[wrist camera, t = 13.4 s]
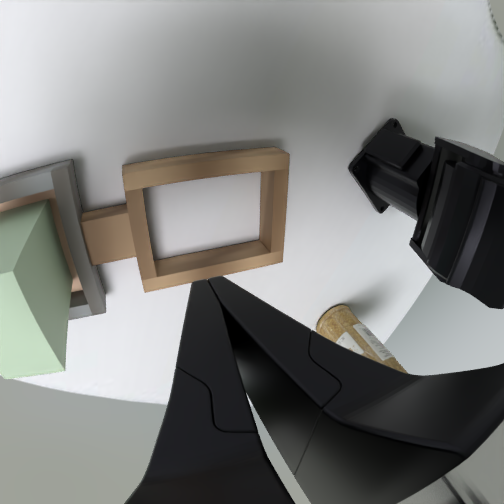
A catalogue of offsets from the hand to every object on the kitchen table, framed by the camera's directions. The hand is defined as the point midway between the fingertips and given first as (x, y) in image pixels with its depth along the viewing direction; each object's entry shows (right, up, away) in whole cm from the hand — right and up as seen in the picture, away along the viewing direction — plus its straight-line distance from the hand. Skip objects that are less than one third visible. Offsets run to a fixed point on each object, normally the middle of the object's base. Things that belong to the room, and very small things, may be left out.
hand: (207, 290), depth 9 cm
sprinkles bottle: (+10, -6, +24) cm, 27 cm away
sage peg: (-13, +1, +8) cm, 15 cm away
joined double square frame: (-7, +3, +10) cm, 13 cm away
